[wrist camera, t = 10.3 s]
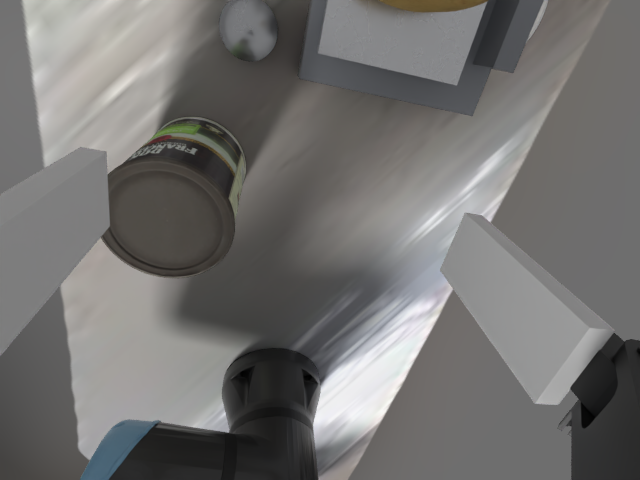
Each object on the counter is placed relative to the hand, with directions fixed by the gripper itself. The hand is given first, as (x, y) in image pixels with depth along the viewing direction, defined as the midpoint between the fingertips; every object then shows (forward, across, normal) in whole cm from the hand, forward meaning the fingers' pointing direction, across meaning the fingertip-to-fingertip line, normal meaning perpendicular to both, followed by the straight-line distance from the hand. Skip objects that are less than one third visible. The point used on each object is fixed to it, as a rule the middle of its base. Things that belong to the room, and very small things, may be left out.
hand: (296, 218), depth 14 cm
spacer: (+28, +4, -6) cm, 29 cm away
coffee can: (+28, +8, +8) cm, 30 cm away
